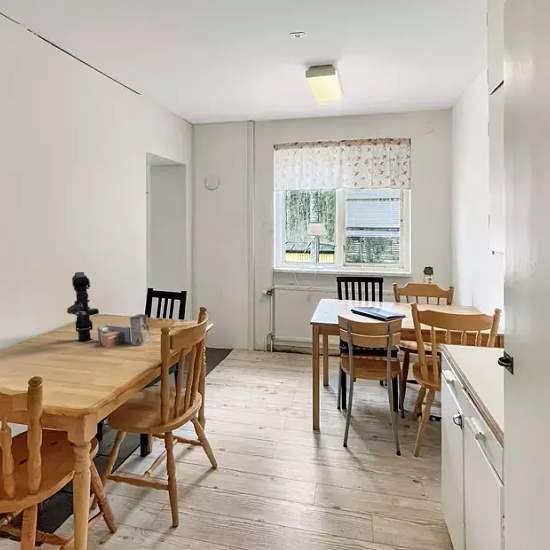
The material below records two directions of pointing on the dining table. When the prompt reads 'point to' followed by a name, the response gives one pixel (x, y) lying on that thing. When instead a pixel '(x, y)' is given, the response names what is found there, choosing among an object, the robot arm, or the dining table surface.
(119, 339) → the bookend
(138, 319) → the coffee box
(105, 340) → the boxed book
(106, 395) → the dining table surface
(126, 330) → the shelf
